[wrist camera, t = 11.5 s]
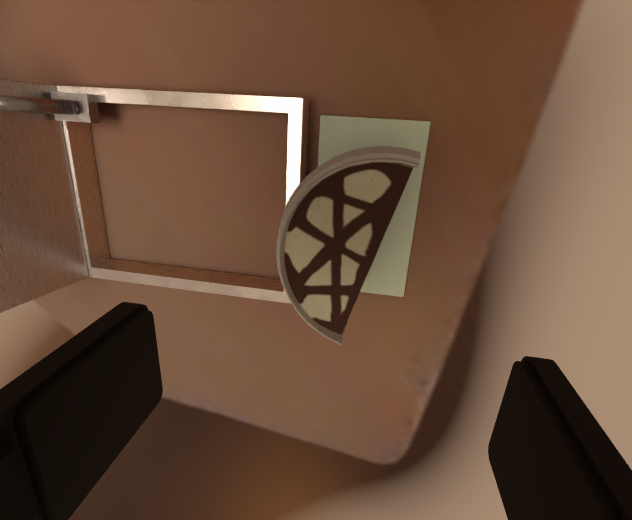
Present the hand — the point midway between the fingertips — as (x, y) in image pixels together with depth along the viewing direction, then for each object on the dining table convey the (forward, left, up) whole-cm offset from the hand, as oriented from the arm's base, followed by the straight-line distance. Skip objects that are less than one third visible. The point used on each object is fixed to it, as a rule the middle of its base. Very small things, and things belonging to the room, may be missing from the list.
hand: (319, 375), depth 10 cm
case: (0, -16, -22) cm, 27 cm away
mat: (0, 0, -22) cm, 22 cm away
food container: (0, -2, -22) cm, 22 cm away
